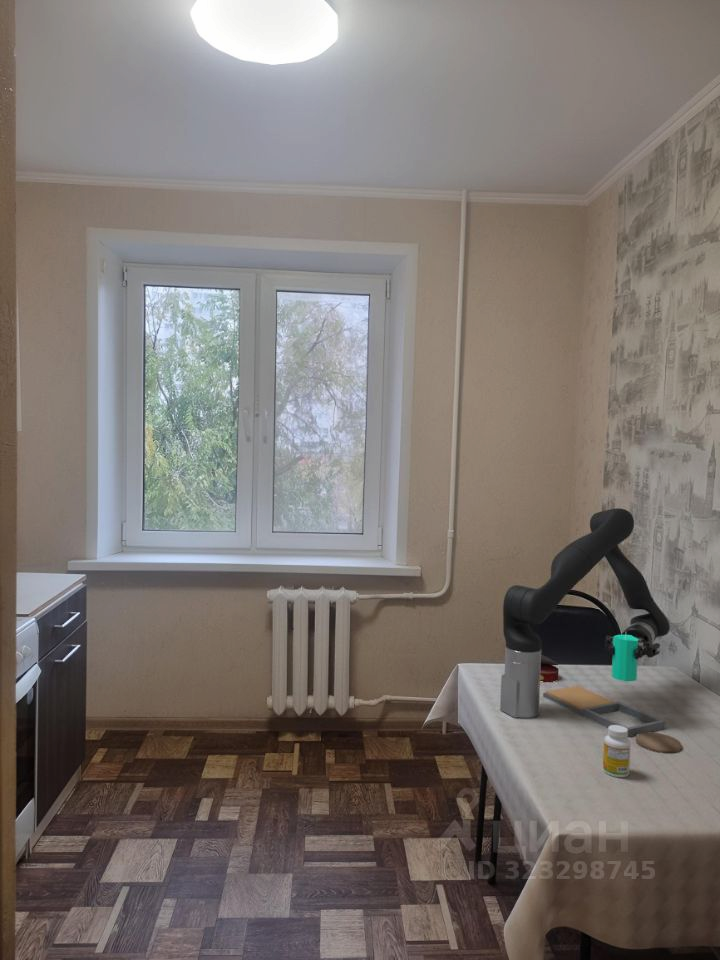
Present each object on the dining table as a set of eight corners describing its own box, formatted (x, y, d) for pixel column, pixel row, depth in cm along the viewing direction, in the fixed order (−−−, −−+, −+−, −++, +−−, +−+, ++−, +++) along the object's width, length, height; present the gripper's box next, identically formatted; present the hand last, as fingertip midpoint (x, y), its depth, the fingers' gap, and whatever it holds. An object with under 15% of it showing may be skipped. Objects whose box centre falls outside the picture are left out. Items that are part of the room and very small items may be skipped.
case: (627, 737, 173) (628, 729, 172) (543, 696, 199) (543, 690, 199) (664, 728, 179) (664, 721, 178) (577, 690, 205) (577, 684, 205)
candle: (621, 682, 178) (622, 635, 177) (607, 674, 184) (608, 628, 183) (641, 680, 179) (643, 633, 179) (627, 673, 185) (628, 627, 185)
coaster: (661, 756, 162) (661, 752, 162) (626, 739, 171) (626, 736, 171) (690, 748, 167) (690, 745, 167) (655, 732, 176) (655, 729, 176)
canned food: (523, 690, 218) (514, 658, 222) (551, 684, 221) (542, 652, 225) (540, 684, 208) (530, 650, 212) (569, 678, 211) (559, 645, 215)
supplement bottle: (608, 764, 157) (610, 721, 157) (632, 771, 154) (634, 728, 153) (599, 772, 153) (601, 728, 153) (624, 780, 150) (626, 735, 149)
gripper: (611, 620, 197) (595, 633, 182) (666, 629, 189) (655, 643, 175) (610, 647, 197) (594, 662, 183) (665, 656, 189) (653, 673, 175)
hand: (624, 653), depth 179 cm, fingers closed on candle, 5 cm apart
